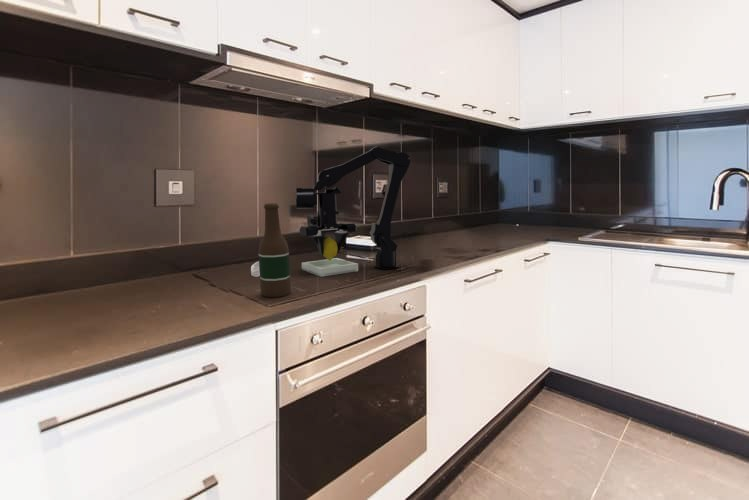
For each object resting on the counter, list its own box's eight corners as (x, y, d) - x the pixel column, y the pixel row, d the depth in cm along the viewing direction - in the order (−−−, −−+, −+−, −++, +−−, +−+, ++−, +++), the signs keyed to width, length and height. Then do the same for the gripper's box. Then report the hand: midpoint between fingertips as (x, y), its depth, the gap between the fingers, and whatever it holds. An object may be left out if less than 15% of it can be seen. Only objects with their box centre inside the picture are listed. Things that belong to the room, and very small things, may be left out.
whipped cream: (277, 277, 133) (278, 263, 132) (258, 279, 128) (259, 264, 127) (264, 272, 138) (265, 258, 138) (245, 274, 133) (246, 259, 133)
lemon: (339, 258, 140) (338, 235, 138) (336, 261, 134) (335, 237, 133) (323, 258, 140) (322, 235, 139) (319, 261, 135) (318, 238, 134)
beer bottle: (276, 299, 103) (270, 204, 99) (254, 295, 107) (248, 203, 104) (297, 292, 110) (292, 202, 106) (276, 288, 114) (271, 202, 110)
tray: (337, 264, 147) (337, 258, 147) (358, 271, 136) (358, 263, 136) (301, 269, 139) (301, 262, 139) (320, 276, 128) (320, 269, 128)
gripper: (340, 206, 146) (341, 248, 149) (291, 208, 136) (294, 254, 138) (356, 207, 137) (357, 252, 140) (306, 209, 127) (308, 259, 129)
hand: (329, 254), depth 137 cm, fingers closed on lemon, 5 cm apart
